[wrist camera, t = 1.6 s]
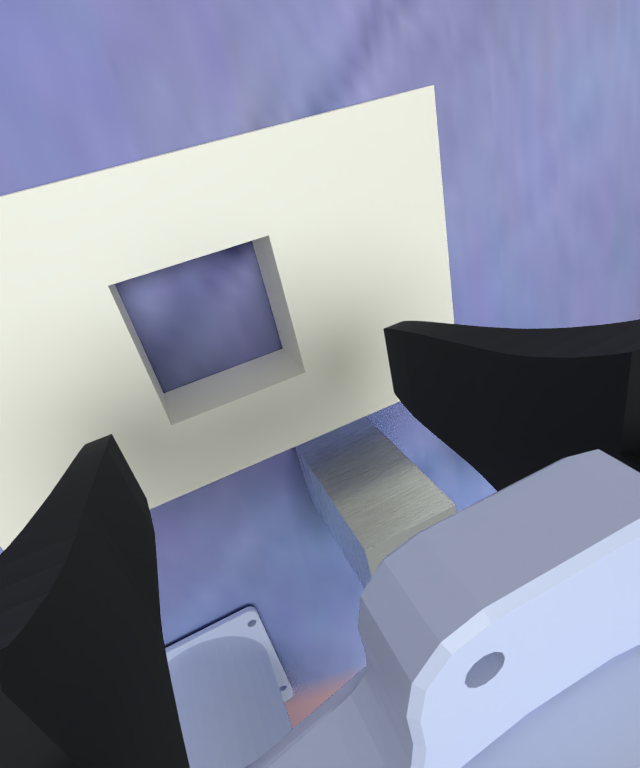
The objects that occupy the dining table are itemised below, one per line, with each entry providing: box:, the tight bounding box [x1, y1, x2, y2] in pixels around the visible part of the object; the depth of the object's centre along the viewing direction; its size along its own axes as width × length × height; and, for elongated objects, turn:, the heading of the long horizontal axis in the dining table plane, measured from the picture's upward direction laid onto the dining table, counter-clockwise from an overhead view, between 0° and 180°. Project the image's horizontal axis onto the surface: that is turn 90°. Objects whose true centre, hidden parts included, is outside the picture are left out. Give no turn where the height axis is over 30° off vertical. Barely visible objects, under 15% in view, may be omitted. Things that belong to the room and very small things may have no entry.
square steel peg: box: [295, 416, 457, 588], centre depth 22 cm, size 4×4×8 cm
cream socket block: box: [0, 85, 454, 550], centre depth 19 cm, size 12×20×3 cm, turn 104°
